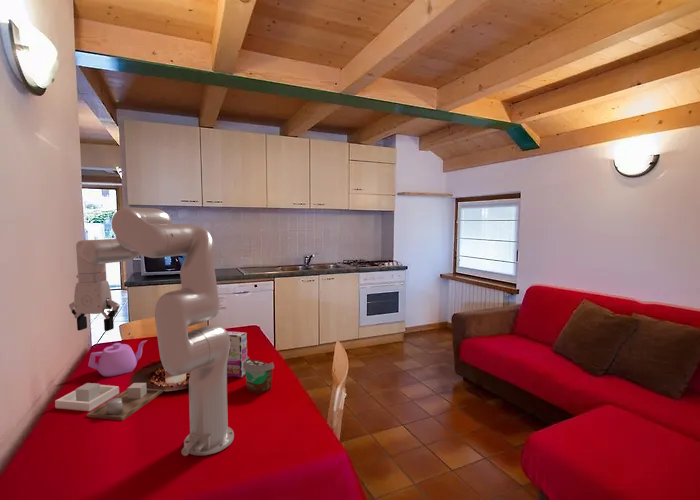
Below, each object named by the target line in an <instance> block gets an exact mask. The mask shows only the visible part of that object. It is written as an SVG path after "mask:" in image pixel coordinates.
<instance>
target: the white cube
mask: <svg viewBox="0 0 700 500" xmlns="http://www.w3.org/2000/svg"><path fill="white" fill-rule="evenodd" d="M147 389H148V388H147V382H133V383H132V384H130V386H128V387H127V388H126V390H128V399H131V398H142V397H143V396H144V395H145V394H146V393H147Z"/></svg>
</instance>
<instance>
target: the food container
mask: <svg viewBox="0 0 700 500" xmlns="http://www.w3.org/2000/svg"><path fill="white" fill-rule="evenodd" d="M243 368H244V369H245V373H246V375H245V382H246V389H247V391H249V392H251V393H256V394H257V393H265V392H269V391H270V390H272V384H273V383H272V382H273V381H272V380H273V371H274V369H275V364H274V362H273V361H272V362H270V363H267V362H265V361H262V360H254V359H251V358H250V356H247V358H246V359H245V361H244V364H243Z"/></svg>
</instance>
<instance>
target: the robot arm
mask: <svg viewBox="0 0 700 500" xmlns="http://www.w3.org/2000/svg"><path fill="white" fill-rule="evenodd" d="M111 219H112V220H111V229H112V232H113V233H114V235H115V238H107V239H105V238H103V239H84V240H78V241H76V244H75V249H76V250H75V251H76V254H75V255H76V266H77V275H76V276H75V277H76V278H77V282H76V284H75V288H74V296H73V297H74V298H73V299H74V301H73V302H71V303H69V305H68V307H69V309H70V311H71V313H72V314H73V315H74V318H75V319H76V327H77V328H76V329H77V331H83V330H85V329H87V328H88V319H87V318H88V317H87V315H99V314H102V315H103V317H104V319H103V326H104V327H103V330H104V332H108V331H112V330H114V325H115V324H114V317H116V315H117V314H118V312H119V310H120V306H121V305H120V304H119V303H118V302H116V301H114V300H113V298H112V291H111V287H110V284H109V281H108V280H107V267H106V264H112V263H122V262H128V261H132V260H134V259H136V258H138V257H140V256H143V257H147V258H151V259H158V258H169V257H178V256H185V258H184V260H183V261H182V265H181V267H180V271H179V276H180V283H181V284H180V285H181V288H180V289H177V290H171V291H168V292H165V293H164V294H162V295H160V297H159V298H158V300H157V301H156V303H155V308H154V322H155V323H154V324H155V330H156V338H157V344H158V352H159V357H160V361H161V365H162V367H163V369H164V370H165V371H166V373H168V374H169V375H171V376H182V375H185V374H188V373H189V379H188V403H189V406H188V407H189V408H188V410H189V434H188V435H187V436H186V437H185V439H184V440H183V448H182V449H181V455H182V456H184V457H186V456H188V455H189V454H190V455H192V456H200V457H201V456H209V455H212V454H216V453H218V452H219V453H220V452H221V451H223V450H224V449H227V447H229V446H230V445H232V443H233V441H234V438H235V433H234V430H233V429H232V428H231V427H230V426H228V425H229V423H228V422H229V419H228V414H229V412H228V376H227V362H228V356H229V351H230V337H229V334H228V332H227V331H228V330H226V329H225V328H224V327H223V326H222V325H217V324H210V325H204V326H200V327H198V328H194V329H191V330H189V327H191V326H195V325H199V324H202V323H204V322H208V321H210V320H212V319H214V318H215V317H216V316H217V315H218V314H219V311H220V300H219V299H220V298H219V291H218V284H217V276H216V269H215V255H216V254H215V252H216V250H215V248H216V247H215V242H214V239H213V237H212V235H211V233H210V232H209V230H208V229H206V228H204V227H203V226H202V225H201V226H200V225H197V224H189V223H172V222H173V221H172V219H171V216H170V215H169V214H168V213H167V212H165V211H164V210H163V209H161V208H160V209H159V208H155V207H128V206H127V207H123V208H120V209H119V210H117V211H116V212H115V213H114V215H113V216H112V218H111ZM86 314H87V315H86ZM85 315H86V316H85Z"/></svg>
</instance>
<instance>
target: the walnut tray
mask: <svg viewBox="0 0 700 500" xmlns="http://www.w3.org/2000/svg"><path fill="white" fill-rule="evenodd" d="M160 394H163V389H158V388H157V389H156V388H147V393H146V394H145V395H144V396H143V397H142V398H131V399H128V390H127V389H125V390H124V391H122V392H121V393H119V394H117V395H116V396H114V397H112V399H114V398H121V399H122V404H123V412H122V413H121V414H119V415H107V411H106V402H104V403H102V404H101V405H99V406H97V407H96V408H94V409H93V410H91V411H89V412H88V413H87V414H86V417H87V418H93V419H96V418H97V419H104V420H105V419H106V420H117V421H124V420H126V419H127V418H129V417H130V416H132V415H133V414H134V413H136V412H137V411H139V410H140V409H141V408H143V407H144V406H146V405H147V404H149V403H150V402H151V401H152V400H154V399H156V398H157V397H159V395H160Z"/></svg>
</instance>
